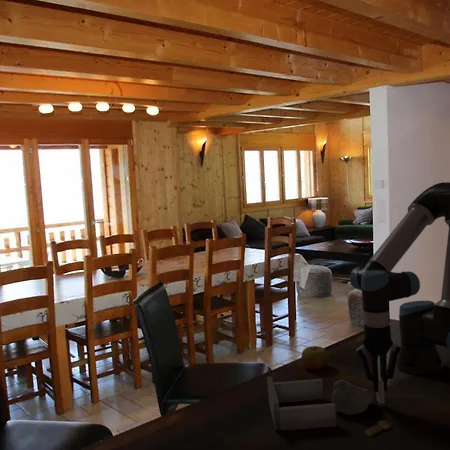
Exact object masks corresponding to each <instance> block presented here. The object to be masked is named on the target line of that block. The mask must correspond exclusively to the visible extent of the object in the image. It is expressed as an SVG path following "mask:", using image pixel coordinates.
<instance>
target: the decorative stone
mask: <svg viewBox="0 0 450 450" xmlns="http://www.w3.org/2000/svg"><path fill="white" fill-rule="evenodd" d="M332 390H333V392H332V394H331V397H332V398H331V403H334V404H335V411H337V412H338V413H342V414H344V415H345V416H356V415H358V414H361V413H364V412H366V410H367V409H368V408H369V405H370V404H372V402H373V400H374V394H373V392H372V391H371V390H369V389H367V388H363V387H360V386H357V385H354V384H352V383H351V382H349V381H347V380H345V379H340V380H336V381H335V382H334V383H333V389H332Z"/></svg>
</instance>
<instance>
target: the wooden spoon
mask: <svg viewBox="0 0 450 450" xmlns="http://www.w3.org/2000/svg"><path fill="white" fill-rule="evenodd" d="M388 430H390V422H389V421H387V420H378V421H377V423H376V425H373V426H371V427H370V428H368V429H366V430H365V435H367V436H368V437H372V436H374V435H376V434H378V433H380V432H382V431H388Z"/></svg>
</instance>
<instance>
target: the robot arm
mask: <svg viewBox="0 0 450 450" xmlns="http://www.w3.org/2000/svg"><path fill="white" fill-rule="evenodd" d="M439 218H444V223H445V224H446V225H447V226H448V234H447V244H446V251H445V261H444V268H443V278H442V287H441V297H440V300H438V301H437V302H434V301H432V300H415V301H414V300H413V301H412V300H411V301H408V302H404V303H402V304H401V305H400V306H399V309H398V310H399V313H398V319H399V321H398V322H399V335H400V346H399V344H395V343H394V341H393V340H392V333H391V331H392V329H391V313H390V311H391V310H390V307H391V306H390V302H393V301H397V300H401V299H405V298H406V299H408V298H410V297H413V296H415V295H417V294H418V293H419V291H420V289H421V281H420V279H419V277H418V275H417V274H416V273H414V272H412V271H410V270H409V271H404V270H403V271H401V272H395V271H392V270H393V269H394V268H395V267H396V266H397V264H398V263H399V262H400V261H401V259H402V258H403V257H404V255H406V253H407V252H408V250H409V249H410V247H412V245H413V244H414V243H415V241H416V240H417V239H418V238H419V236H420V235H421V234H422V232H423V231H424V230H425V229H426V227H428V226H430V225H432V224H433V223H434V222H435V221H436V220H438V219H439ZM349 280H350V281H349V282H350V284H351V286H352V287H353V289H356V290H358V291H361V296H362V298H361V299H362V318H363V319H362V320H363V337H364V338H363V341H362V345H360V346H359V347H356V348H355V351H356V352H357V354H358V355H359V358H360V361H361V364H362V369H363V372H364V375H365V377H366V378H367V380H368V381H371V382H372V389H373V392H375V393H376V401H377V402H378V404H379V405H383V404H385V402H386V401H385V392H387V391H388V382H389V380H392V379H394V375H395V370H396V368H397V369H398V371H401V372H403V373H405V374H409V375H415V376H431V375H437V374H439V373H441V372H442V371H443V369H444V365H443V362H444V361H443V359H442V357H441V354H440V352H439V349H438V347H437V345H438V346H441V347H444V348H447V349H449V350H450V181H449V182H446V181H445V182H444V181H443V182H439V183H436V184H433V185H431V186H429V187H428V188H426V189H425V190H424V191H422V192H421V193H420V194H419V195H417V196H416V198H414V200H413V201H412V202H411V203H410V204H409V206H408V207H407V213H406V214H405V215H404V216H403V218H402V219H401V220H400V221H399V222H398V223H397V225H396V227H395V228H394V229H393V230H392V232H391V233H390V234H389V235H388V237H387V238H386V239H385V240H384V242H383V243H382V244H381V245H380V246H379V248H378V249H377V250H376V251H375V253H374V254H373V255H372V256H371V257H370V258H369V260H368V262H367V263H366V264H365V265H364V266H356V267H355V268H353V269H352V270H351V273H350V275H349ZM366 351H367V352H368V353H369V355H370V363H371V364H370V365H371V366H370V365H369V363H368V360H367V357H366V355H365V354H366ZM388 352H390V355H389V359H388V364H387V358H388V357H387V354H388ZM378 361H379V363H378ZM370 367H371V370H370ZM379 371H380V378H379Z"/></svg>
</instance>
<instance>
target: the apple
mask: <svg viewBox="0 0 450 450" xmlns="http://www.w3.org/2000/svg"><path fill="white" fill-rule="evenodd" d="M329 361H330V355H329V352H328V351H327V349H326V348H324V347H322V346H317V345H312V346H308V347H305V348H304V349H303V351H302V352H301V363H302V365H303V366H304V367H305V368H306V369H308V370H310V371H320V370H323V369H325V368H326V367H327V366H328V364H329Z"/></svg>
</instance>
